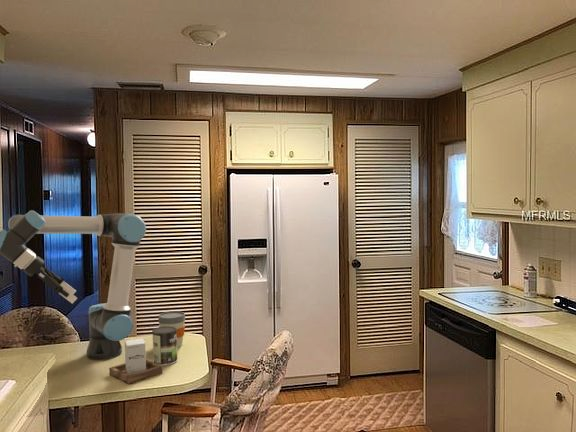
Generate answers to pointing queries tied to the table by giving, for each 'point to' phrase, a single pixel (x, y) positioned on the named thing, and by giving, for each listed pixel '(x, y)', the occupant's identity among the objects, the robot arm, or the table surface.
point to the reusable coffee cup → (174, 323)
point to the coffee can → (165, 345)
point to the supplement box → (135, 356)
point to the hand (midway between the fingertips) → (74, 297)
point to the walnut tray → (150, 371)
